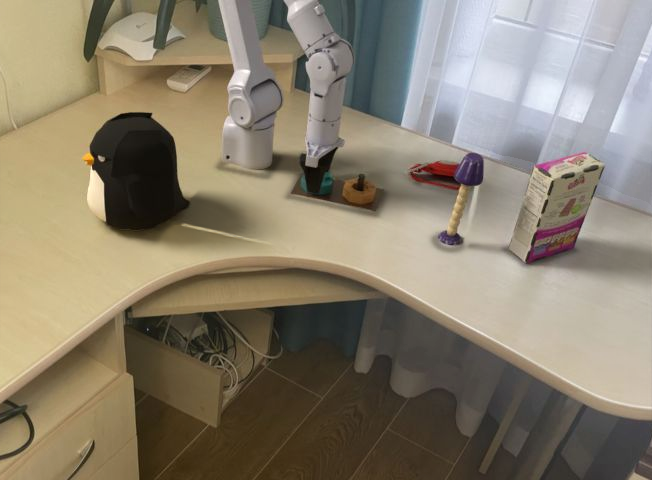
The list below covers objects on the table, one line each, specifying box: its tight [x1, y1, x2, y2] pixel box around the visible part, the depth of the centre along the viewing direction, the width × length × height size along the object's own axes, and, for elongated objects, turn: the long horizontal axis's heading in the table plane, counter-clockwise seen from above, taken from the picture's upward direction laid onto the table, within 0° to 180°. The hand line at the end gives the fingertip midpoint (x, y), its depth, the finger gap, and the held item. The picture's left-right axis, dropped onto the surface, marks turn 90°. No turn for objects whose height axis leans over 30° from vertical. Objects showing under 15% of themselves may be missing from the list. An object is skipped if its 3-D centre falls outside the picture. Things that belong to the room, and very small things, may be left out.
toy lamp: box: [437, 152, 485, 246], centre depth 123 cm, size 5×5×17 cm
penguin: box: [81, 111, 191, 232], centre depth 125 cm, size 18×18×17 cm
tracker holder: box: [407, 160, 461, 191], centre depth 143 cm, size 12×4×10 cm
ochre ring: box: [343, 177, 378, 204], centre depth 137 cm, size 6×6×2 cm
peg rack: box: [290, 172, 385, 212], centre depth 137 cm, size 16×8×5 cm, turn 73°
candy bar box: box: [507, 151, 606, 264], centre depth 123 cm, size 11×5×16 cm, turn 117°
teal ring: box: [301, 172, 335, 195], centre depth 138 cm, size 6×6×2 cm
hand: (317, 183), depth 138 cm, fingers closed on teal ring, 6 cm apart
